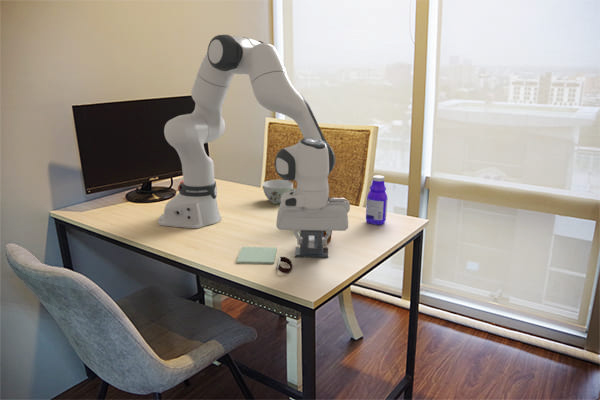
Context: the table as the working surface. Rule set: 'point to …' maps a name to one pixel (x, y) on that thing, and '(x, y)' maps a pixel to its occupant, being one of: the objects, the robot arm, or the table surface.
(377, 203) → the bottle
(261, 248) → the mat
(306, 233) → the link
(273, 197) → the teacup
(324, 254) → the hook stand
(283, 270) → the watch
